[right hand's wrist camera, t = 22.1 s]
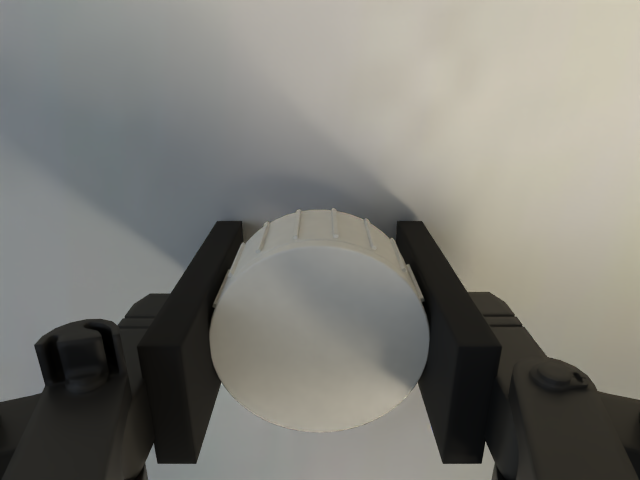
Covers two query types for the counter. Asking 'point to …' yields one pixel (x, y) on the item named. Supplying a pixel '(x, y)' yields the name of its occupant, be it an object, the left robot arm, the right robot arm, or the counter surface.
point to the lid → (319, 323)
